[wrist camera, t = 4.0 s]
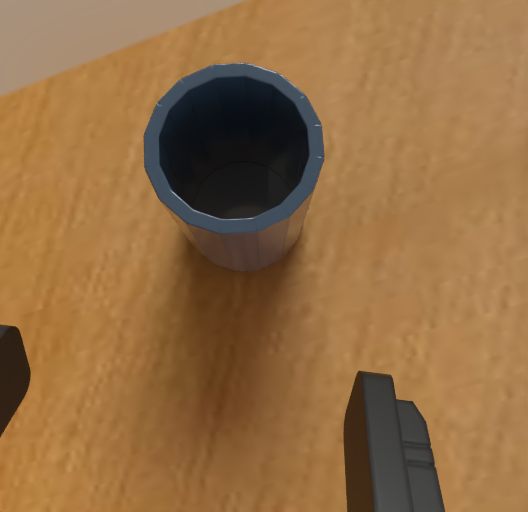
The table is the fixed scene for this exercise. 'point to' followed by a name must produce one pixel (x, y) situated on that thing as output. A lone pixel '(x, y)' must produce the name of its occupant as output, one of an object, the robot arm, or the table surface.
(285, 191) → the cup
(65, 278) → the table surface
